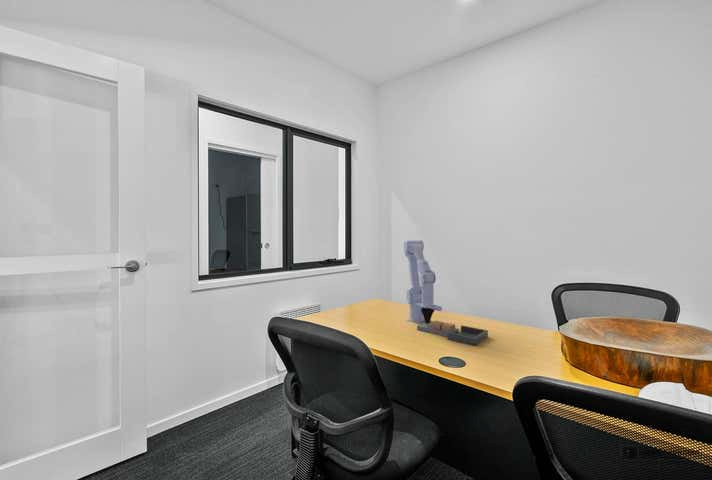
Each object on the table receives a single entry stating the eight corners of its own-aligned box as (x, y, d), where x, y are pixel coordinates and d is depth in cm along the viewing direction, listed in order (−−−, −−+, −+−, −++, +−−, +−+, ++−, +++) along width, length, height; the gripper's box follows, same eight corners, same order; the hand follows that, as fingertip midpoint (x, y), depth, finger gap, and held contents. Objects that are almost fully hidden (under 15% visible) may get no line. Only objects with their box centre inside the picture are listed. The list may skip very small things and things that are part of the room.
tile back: (435, 325, 163) (435, 320, 163) (444, 327, 160) (444, 322, 160) (431, 327, 159) (431, 322, 159) (440, 329, 156) (440, 324, 156)
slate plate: (425, 326, 169) (425, 322, 169) (458, 333, 157) (458, 329, 157) (417, 329, 163) (417, 325, 163) (451, 337, 151) (451, 333, 151)
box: (461, 331, 159) (461, 325, 159) (487, 336, 151) (487, 330, 151) (447, 339, 148) (447, 332, 148) (475, 345, 140) (475, 338, 140)
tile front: (446, 327, 159) (446, 322, 159) (455, 329, 156) (455, 324, 156) (441, 329, 156) (441, 324, 156) (450, 331, 153) (450, 326, 153)
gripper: (410, 295, 164) (410, 322, 165) (437, 299, 155) (437, 327, 155) (418, 293, 170) (418, 319, 170) (443, 297, 160) (443, 324, 161)
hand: (427, 323), depth 163 cm, fingers closed
